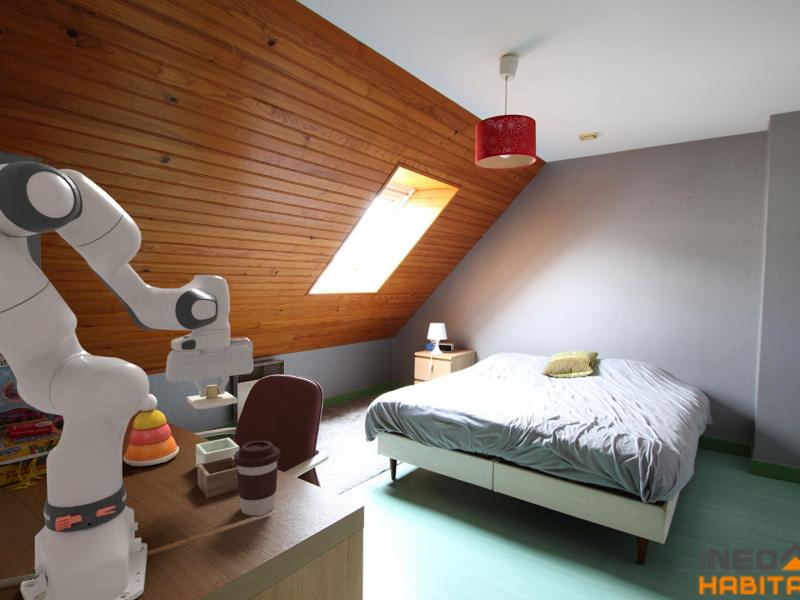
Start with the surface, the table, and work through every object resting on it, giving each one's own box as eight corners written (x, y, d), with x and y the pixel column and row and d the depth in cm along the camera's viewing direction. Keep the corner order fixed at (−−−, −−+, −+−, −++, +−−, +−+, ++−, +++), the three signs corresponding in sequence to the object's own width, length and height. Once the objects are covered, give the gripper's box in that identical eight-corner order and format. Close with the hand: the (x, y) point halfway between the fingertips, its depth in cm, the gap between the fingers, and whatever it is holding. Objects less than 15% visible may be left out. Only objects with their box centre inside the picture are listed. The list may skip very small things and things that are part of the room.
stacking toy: (181, 447, 141) (180, 386, 140) (176, 465, 128) (174, 397, 127) (129, 454, 136) (127, 390, 135) (118, 472, 123) (116, 402, 122)
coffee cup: (240, 526, 96) (239, 457, 95) (230, 506, 104) (229, 442, 104) (286, 513, 101) (285, 447, 101) (273, 495, 110) (272, 435, 109)
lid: (237, 405, 111) (237, 386, 111) (196, 411, 105) (195, 392, 105) (226, 397, 119) (226, 380, 119) (187, 403, 113) (186, 384, 113)
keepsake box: (245, 490, 112) (244, 466, 112) (207, 501, 107) (207, 476, 107) (233, 477, 120) (233, 455, 119) (197, 487, 114) (197, 464, 114)
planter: (239, 471, 123) (239, 446, 123) (205, 480, 118) (204, 454, 118) (229, 461, 131) (229, 437, 130) (196, 469, 125) (195, 444, 125)
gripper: (248, 336, 120) (249, 387, 121) (163, 341, 108) (164, 398, 109) (257, 338, 115) (257, 391, 116) (168, 344, 103) (169, 404, 104)
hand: (211, 395), depth 112 cm, fingers closed on lid, 3 cm apart
